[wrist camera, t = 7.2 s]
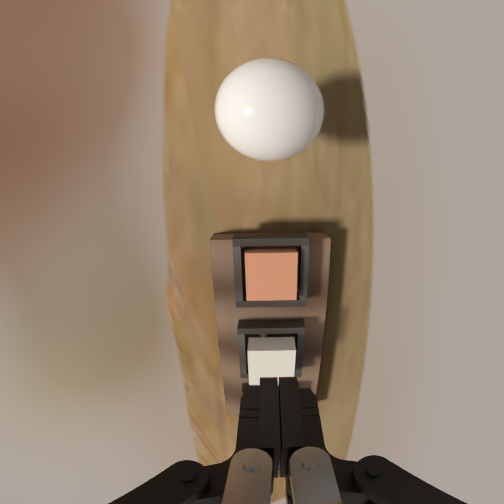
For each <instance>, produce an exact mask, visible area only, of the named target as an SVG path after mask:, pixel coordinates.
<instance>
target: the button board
mask: <svg viewBox="0 0 504 504" xmlns="http://www.w3.org/2000/svg"><path fill="white" fill-rule="evenodd" d="M246 246H296V249H297V251H298V268H297V300H273V301H247V300H246V275H245V249H246ZM330 248H331V238H330V236H329V235H328V234H327V232H292V233H231V234H213V236H212V237H211V239H210V251H211V264H212V276H213V288H214V299H215V310H216V321H217V331H218V340H219V350H220V359H221V368H222V376H223V385H224V393H225V401H226V408H227V415H239V412H240V401H241V397H242V396H243V394H244V393H245V392H246V390H260V385H249V373H248V352H247V350H248V339H249V337H294V340H295V347H296V358H295V373H294V377H297V382H298V389H302V388H310V389H311V390H312V392H313V393H314V394H315V396H316V391H317V384H318V377H319V369H320V362H321V354H322V345H323V336H324V327H325V317H326V306H327V294H328V281H329V266H330ZM278 386H279V385H278Z"/></svg>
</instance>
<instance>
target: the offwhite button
mask: <svg viewBox="0 0 504 504" xmlns="http://www.w3.org/2000/svg"><path fill="white" fill-rule="evenodd" d="M247 352H248V373H249V385H260V377H278V385H279V377H294V373H295V358H296V347H295V340H294V337H249V339H248V350H247Z"/></svg>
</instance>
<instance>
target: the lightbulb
mask: <svg viewBox="0 0 504 504" xmlns="http://www.w3.org/2000/svg"><path fill="white" fill-rule="evenodd" d="M215 118H216V122H217V126H218V128H219V130H220V132H221V134H222V136H223V137H224V139H225V140H226V141H227V142H228V144H229V145H230V146H231V147H233V148H234V149H235V150H236V151H238V152H239V153H241V154H243V155H245V156H247V157H249V158H252V159H255V160H260V161H281V160H285V159H288V158H291V157H294V156H296V155H298V154H299V153H301V152H302V151H304V150H305V149H306V148H308V147H309V146H310V145H311V144H312V143H313V141H314V140H315V139H316V137H317V136H318V134H319V132H320V130H321V127H322V124H323V120H324V101H323V97H322V94H321V91H320V89H319V87H318V85H317V83H316V82H315V80H314V79H313V78H312V77H311V76H310V75H309V74H308V73H307V72H306V71H305V70H304V69H303V68H301V67H300V66H298V65H296V64H294V63H292V62H290V61H287V60H283V59H278V58H259V59H254V60H251V61H248V62H246V63H244V64H242V65H240V66H238V67H237V68H235V69H234V70H233V71H232V72H230V73H229V74H228V76H227V77H226V78H225V79H224V81H223V82H222V84H221V85H220V87H219V90H218V92H217V95H216V99H215Z"/></svg>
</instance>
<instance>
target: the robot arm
mask: <svg viewBox="0 0 504 504" xmlns="http://www.w3.org/2000/svg"><path fill="white" fill-rule="evenodd" d="M278 470H280V477H286V490H285V497H286V504H467V503H465V502H463V501H460V500H459V499H457V498H455V497H453V496H451V495H448V494H447V493H445V492H443V491H441V490H439V489H437V488H435V487H433V486H432V485H430V484H428V483H426V482H424V481H423V480H421V479H419V478H417V477H416V476H414V475H412V474H410V473H409V472H407V471H405V470H404V469H402V468H400V467H398V466H397V465H395V464H394V463H392V462H390V461H389V460H387V459H386V458H384V457H381V456H376V455H372V456H367V457H364V458H362V459H361V460H359V461H358V462H355V461H347V460H341V459H338V458H336V457H334V456H332V455H331V454H330V453H329V452H328V451H327V450H326V448H325V444H324V439H323V432H322V427H321V421H320V416H319V409H318V403H317V398H316V396H315V394H314V393H313V392H312V390H311V389H310V388H302V389H298V382H297V377H279V386H278V377H260V390H246V392H245V393H244V394H243V396H242V397H241V401H240V412H239V422H238V432H237V442H236V450H235V452H234V454H233V455H232V456H231V457H230V458H229V459H228V460H226V461H224V462H222V463H219V464H214V465H209V466H203V465H201V464H200V463H198V462H195V461H191V460H184V461H179V462H177V463H175V464H173V465H172V466H170V467H169V468H167V469H166V470H164V471H163V472H161V473H159V474H158V475H156V476H155V477H153V478H152V479H150V480H148V481H147V482H145V483H144V484H142V485H140V486H139V487H137V488H135V489H134V490H132V491H130V492H129V493H127V494H125V495H123V496H121V497H120V498H118V499H116V500H114V501H112V502H111V503H109V504H270V499H271V494H272V492H273V482H274V477H278Z"/></svg>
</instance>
